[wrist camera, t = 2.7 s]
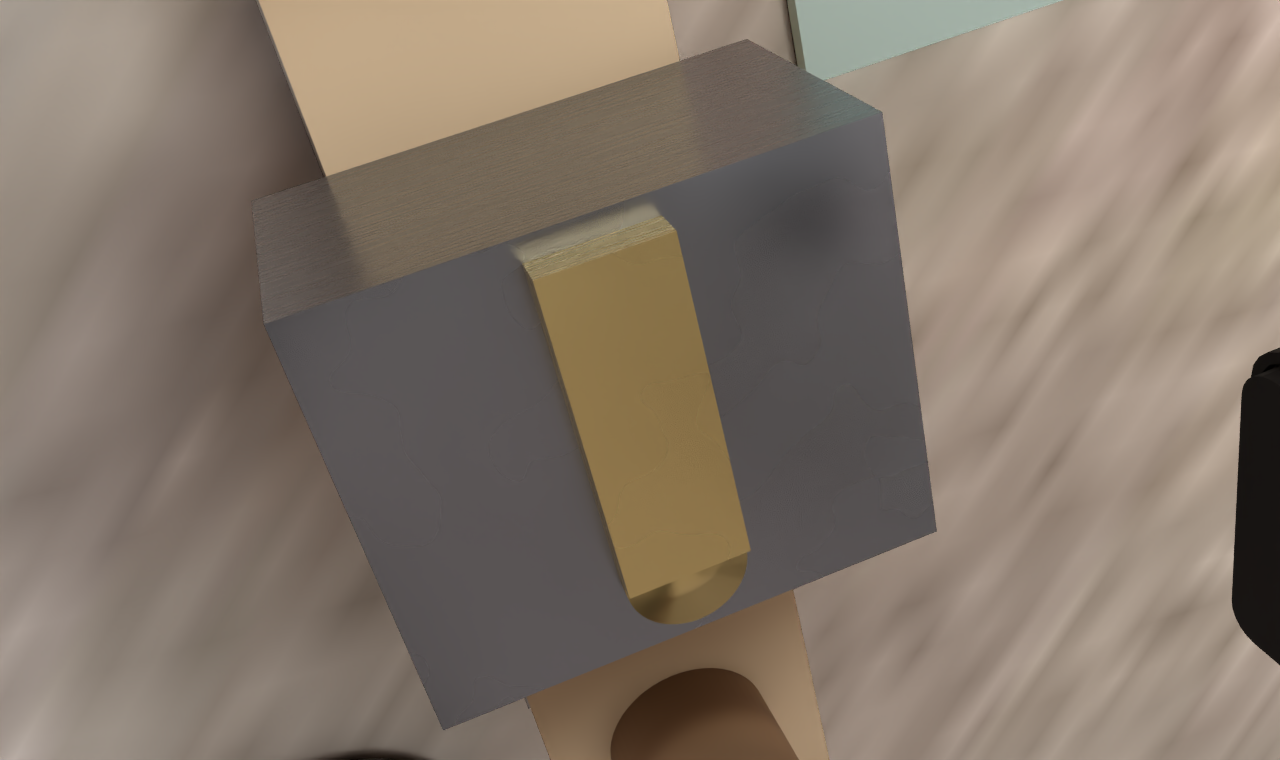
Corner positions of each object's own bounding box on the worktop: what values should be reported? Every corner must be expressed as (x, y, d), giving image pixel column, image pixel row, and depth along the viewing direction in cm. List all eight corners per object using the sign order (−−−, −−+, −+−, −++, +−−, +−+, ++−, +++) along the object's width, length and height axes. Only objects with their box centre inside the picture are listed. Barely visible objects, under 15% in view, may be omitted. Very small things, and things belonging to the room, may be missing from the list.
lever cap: (251, 200, 16) (265, 345, 12) (746, 39, 17) (903, 123, 13) (400, 553, 19) (449, 758, 15) (812, 398, 20) (955, 551, 16)
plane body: (38, -565, 17) (-106, -833, 9) (422, -651, 17) (593, -962, 10) (523, 691, 29) (637, 1033, 21) (734, 606, 30) (918, 905, 22)
